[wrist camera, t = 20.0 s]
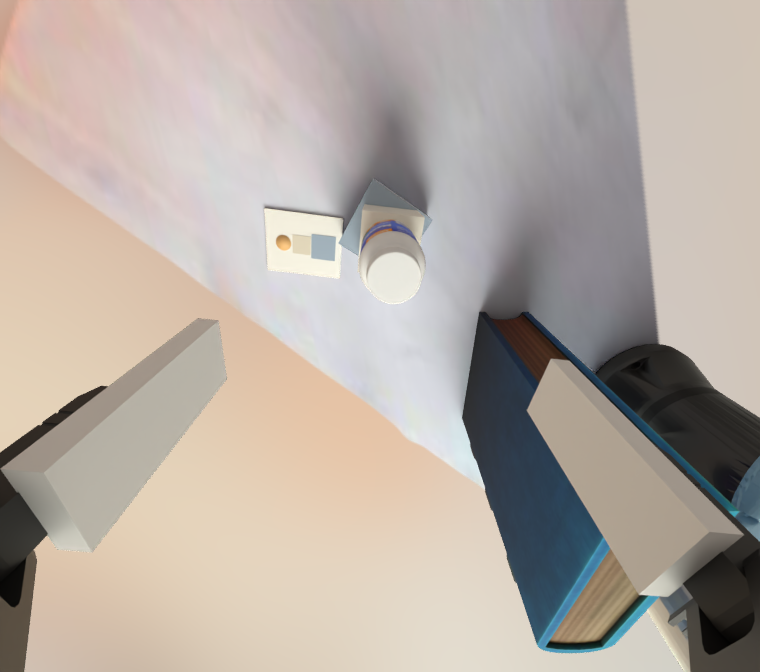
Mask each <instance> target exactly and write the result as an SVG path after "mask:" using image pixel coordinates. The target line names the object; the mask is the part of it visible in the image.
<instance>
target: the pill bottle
mask: <svg viewBox="0 0 760 672" xmlns="http://www.w3.org/2000/svg"><path fill="white" fill-rule="evenodd" d="M425 267H426V263H425V256H424V253H423V251H422V249H421V247H420V245H419V243H418V241H417V240H416V238H415V236H414V234H413V233H412V231H411V230H410V229H409V228H408V227H407V226H406V225H405V224H404V223H402V222H400V221H397V220H393V219H385V220H381V221H378V222H376V223H375V224H373V225H372V226H371V227H370V228H369V229H368V230H367V231H366V233H365V235H364V237H363V240H362V245H361V252H360V257H359V273H360V277H361V279H362V281H363V283H364V285H365V286H366V287H367V289H368V290H369V291H371V293H372V294H373V295H374V296H375V297H376V298H377V299H378V300H380V301H382V302H384V303H388V304H399V303H403V302H405V301H407V300H409V299H410V298H412V297H413V296H414V295H415V294H416V292H417V291H418V289H419V287H420V285H421V281H422V279H423V276H424V273H425Z"/></svg>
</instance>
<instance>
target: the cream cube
mask: <svg viewBox="0 0 760 672" xmlns="http://www.w3.org/2000/svg"><path fill="white" fill-rule="evenodd" d="M385 219H393V220H397V221H400V222H402V223H404V224H405V225H406V226H407V227H408V228H409V229H410V230H411V231H412V233H413V234H414V236H415V238H416V240H417V241H418V243H419V245H420V243H421V237H422V232H423V226H424V220H425V217H424V216H423V215H422V214H421V213H420V212H419V211H418V210H410V209H402V208H393V207H385V206H377V205H368V204H364V207H363V209H362V219H361V233H360V246H359V257H360V252H361V245H362V240H363V237H364V235H365V233H366V231H367V230H368V229H369V228H370V227H371V226H372V225H373V224H375V223H376V222H378V221H381V220H385ZM358 272H359V259H358Z"/></svg>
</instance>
